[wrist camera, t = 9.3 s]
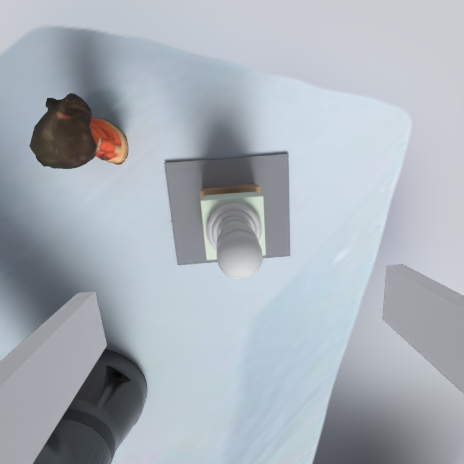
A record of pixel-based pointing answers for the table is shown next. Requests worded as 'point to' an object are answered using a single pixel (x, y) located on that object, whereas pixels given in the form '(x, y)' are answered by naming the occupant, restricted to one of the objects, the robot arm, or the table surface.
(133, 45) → the table surface
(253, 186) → the block bottom
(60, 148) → the figurine
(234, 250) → the chess piece
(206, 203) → the block top
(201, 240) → the mat
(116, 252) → the table surface
